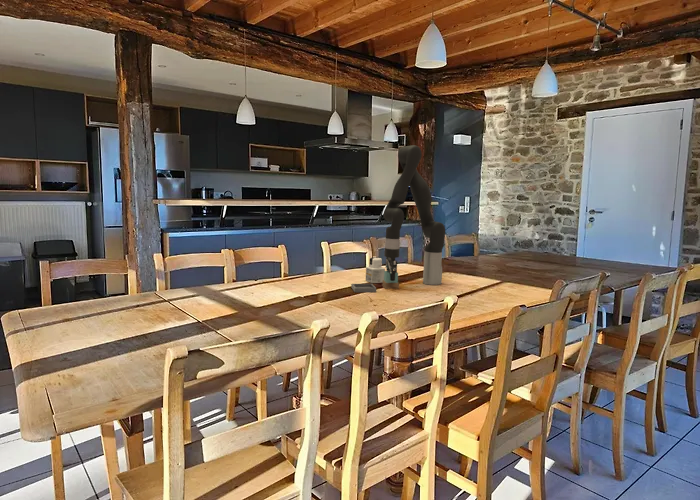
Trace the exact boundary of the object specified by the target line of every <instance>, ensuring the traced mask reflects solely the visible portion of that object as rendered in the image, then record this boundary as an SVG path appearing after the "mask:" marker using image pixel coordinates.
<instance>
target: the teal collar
mask: <svg viewBox="0 0 700 500" xmlns="http://www.w3.org/2000/svg"><path fill="white" fill-rule="evenodd" d="M390 275H391V273H389V271H387V270H385V271H384V281H385V282H386V283H399V272H397V273H395V281H391V280H390Z"/></svg>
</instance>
